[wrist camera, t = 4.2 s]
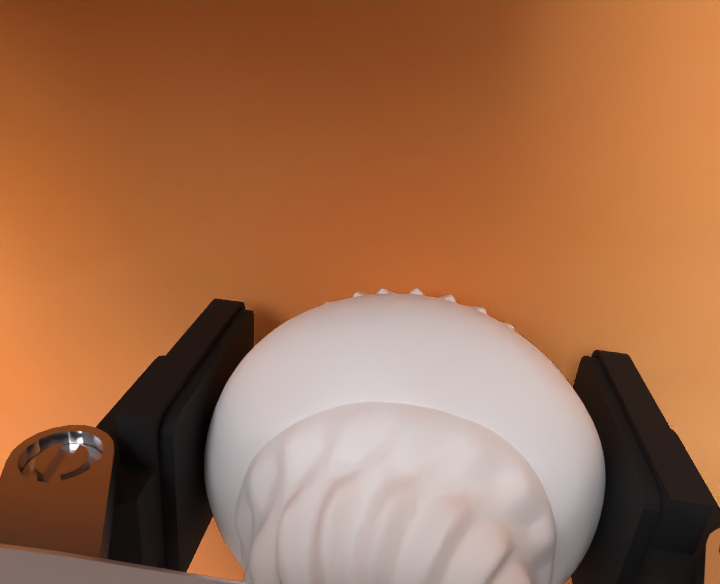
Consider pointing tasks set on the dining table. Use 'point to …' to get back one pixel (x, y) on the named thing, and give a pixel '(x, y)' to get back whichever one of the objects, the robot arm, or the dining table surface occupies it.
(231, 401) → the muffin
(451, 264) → the dining table surface
